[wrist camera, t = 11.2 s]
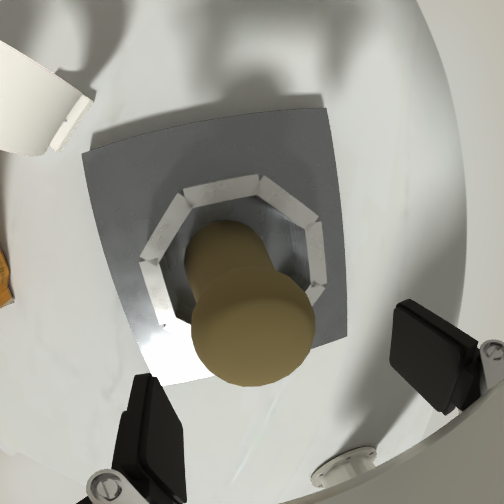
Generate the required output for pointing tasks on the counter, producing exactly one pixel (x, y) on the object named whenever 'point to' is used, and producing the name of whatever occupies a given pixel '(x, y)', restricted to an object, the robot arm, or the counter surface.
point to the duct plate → (218, 219)
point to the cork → (245, 307)
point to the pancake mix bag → (4, 282)
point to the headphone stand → (35, 106)
